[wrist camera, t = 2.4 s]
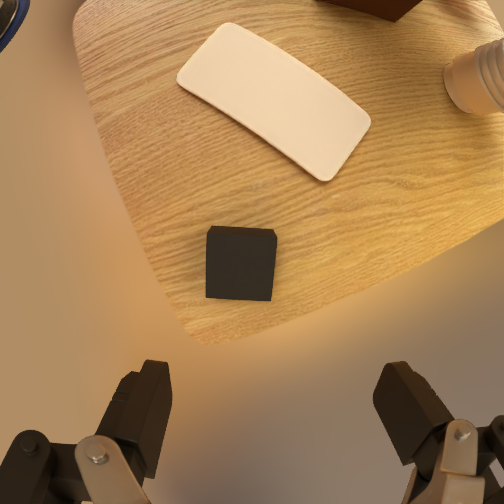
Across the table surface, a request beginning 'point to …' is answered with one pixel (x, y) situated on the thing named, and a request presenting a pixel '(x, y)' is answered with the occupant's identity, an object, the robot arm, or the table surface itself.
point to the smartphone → (276, 99)
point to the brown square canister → (379, 7)
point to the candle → (477, 79)
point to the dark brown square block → (240, 263)
